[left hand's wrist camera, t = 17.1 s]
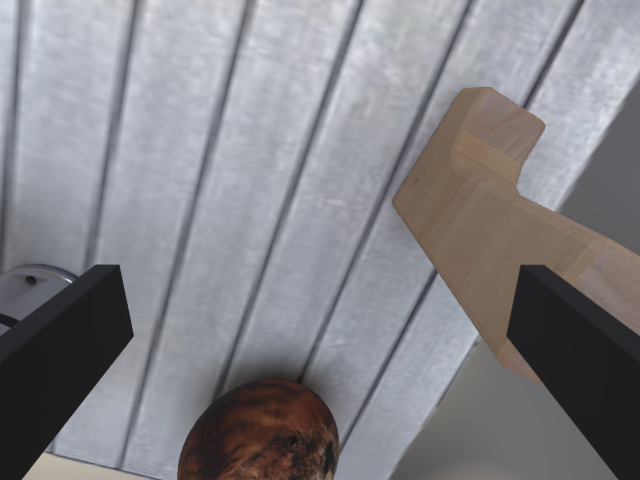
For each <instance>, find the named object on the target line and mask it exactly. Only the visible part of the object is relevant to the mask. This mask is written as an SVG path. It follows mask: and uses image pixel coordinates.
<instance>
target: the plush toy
mask: <svg viewBox="0 0 640 480" xmlns="http://www.w3.org/2000/svg"><path fill="white" fill-rule="evenodd" d="M338 459H339V435H338V430H337V426H336V423H335V420H334V418H333V415H332V413H331V412H330V410H329V408H328V407H327V405H326V404H325V403H324V401H323V400H322V399H321V398H320V397H319V396H318V395H317V394H316V393H314V392H313V391H312V390H310V389H309V388H307V387H305V386H303V385H301V384H298V383H295V382H292V381H288V380H281V379H265V380H258V381H254V382H250V383H247V384H244V385H242V386H239V387H237V388H235V389H233V390H231V391H229V392H228V393H226V394H225V395H223V396H222V397H220V398H219V399H218V400H216V401H215V402H214V403H213V404H212V405H211V406H210V407H208V408H207V409H206V411H205V412H204V413H203V414H202V415H201V416H200V417H199V419H198V420H197V421H196V423H195V424H194V426H193V428H192V429H191V431H190V433H189V434H188V436H187V438H186V441H185V443H184V446H183V449H182V452H181V455H180V459H179V464H178V473H177V480H333V479H334V476H335V473H336V469H337V465H338Z"/></svg>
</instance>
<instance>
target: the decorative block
mask: <svg viewBox="0 0 640 480" xmlns="http://www.w3.org/2000/svg"><path fill="white" fill-rule="evenodd" d="M545 126H546V125H545V124H544V122H543V121H542V120H541V119H539V118H538V117H536V116H534V115H533V114H531V113H530V112H528V111H527V110H525V109H524V108H522V107H520V106H519V105H517V104H516V103H514V102H513V101H511V100H510V99H508V98H506V97H505V96H503V95H502V94H500V93H499V92H497V91H496V90H494V89H493V88H491V87H479V88H465V89H463V90H462V91H461V92H460V93H459V95H458V97H457V98H456V100H455V101H454V103H453V104H452V106H451V108H450V109H449V111H448V112H447V114H446V116H445V117H444V119H443V120H442V122H441V124H440V125H439V127H438V128H437V130H436V132H435V133H434V135H433V136H432V138H431V139H430V141H429V143H428V144H427V146H426V147H425V149H424V151H423V152H422V154H421V155H420V157H419V159H418V160H417V162H416V163H415V165H414V167H413V168H412V170H411V171H410V173H409V175H408V176H407V178H406V179H405V181H404V183H403V184H402V186H401V187H400V189H399V191H398V192H397V194H396V195H395V197H394V199H393V201H392V205H393V206H394V208H395V209H396V211H397V212H398V214H399V215H400V217H401V218H402V220H403V221H404V223H405V224H406V226H407V227H408V229H409V230H410V232H411V233H412V235H413V236H414V238H415V239H416V240H417V242H418V243H419V245H420V246H421V248H422V249H423V251H424V252H425V254H426V255H427V257H428V258H429V260H430V261H431V263H432V264H433V266H434V267H435V268H436V270H437V271H438V273H439V274H440V276H441V277H442V279H443V280H444V282H445V283H446V285H447V286H448V288H449V289H450V291H451V292H452V294H453V295H454V297H455V298H456V300H457V301H458V302H459V304H460V305H461V307H462V308H463V310H464V311H465V313H466V314H467V316H468V317H469V319H470V320H471V322H472V323H473V325H474V326H475V328H476V329H477V331H478V332H479V333H480V335H481V336H482V338H483V339H484V341H485V342H486V344H487V345H488V347H489V348H490V350H491V351H492V353H493V354H494V356H495V357H496V359H497V360H498V361H499V362H500V364H501V365H502V366H504V367H506V368H508V369H510V370H512V371H514V372H516V373H518V374H520V375H522V376H524V377H526V378H528V379H530V380H532V381H534V382H536V383H538V384H540V385H542V386H544V387H546V386H545V385H544V384H543V383H542V381H541V380H540V379H539V378H538V376H537V375H536V374H535V372H534V371H533V370H532V369H531V367H530V366H529V365H528V363H527V362H526V361H525V360H524V358H523V357H522V356H521V354H520V353H519V352H518V351H517V349H516V348H515V347H514V346H513V344H512V343H511V342H510V340H509V339H508V338H507V337H506V334H507V329H508V324H509V319H510V314H511V309H512V304H513V299H514V295H515V290H516V285H517V280H518V275H519V270H520V265H545V266H547V267H548V268H549V269H551V270H552V271H553V272H555V273H556V274H557V275H559V276H560V277H561V278H563V279H564V280H565V281H567V282H568V283H569V284H571V285H572V286H573V287H575V288H576V289H577V290H579V291H580V292H581V293H583V294H584V295H586V296H587V297H588V298H590V299H591V300H592V301H594V302H595V303H596V304H598V305H599V306H600V307H602V308H603V309H604V310H606V311H607V312H608V313H610V314H611V315H612V316H614V317H615V318H616V319H618V320H619V321H620V322H622V323H623V324H625V325H626V326H627V327H629V328H630V329H631V330H633V331H634V332H635V333H637V334H638V335H639V336H640V257H639V256H638V255H636V254H635V253H633V252H631V251H630V250H628V249H626V248H624V247H623V246H621V245H619V244H618V243H616V242H614V241H613V240H611V239H609V238H607V237H605V236H603V235H601V234H599V233H597V232H595V231H593V230H590V229H588V228H586V227H584V226H582V225H580V224H578V223H576V222H574V221H572V220H570V219H568V218H566V217H564V216H562V215H560V214H558V213H556V212H553V211H551V210H549V209H547V208H545V207H543V206H541V205H539V204H537V203H535V202H533V201H531V200H529V199H527V198H525V197H523V196H521V195H520V194H519V192H518V190H517V188H516V185H517V182H518V178H519V175H520V172H521V169H522V166H523V164H524V162H525V161H526V159H527V157H528V156H529V154H530V153H531V151H532V149H533V148H534V146H535V144H536V143H537V141H538V140H539V138H540V136H541V135H542V133H543V131H544V130H545Z"/></svg>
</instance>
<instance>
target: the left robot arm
mask: <svg viewBox="0 0 640 480" xmlns="http://www.w3.org/2000/svg"><path fill="white" fill-rule="evenodd" d="M133 337H134V334H133V329H132V324H131V319H130V314H129V309H128V304H127V299H126V295H125V290H124V285H123V280H122V275H121V270H120V265H95V266H93V267H92V268H91V269H89V270H88V271H87V272H85V273H84V274H83V275H81V276H80V277H79V278H77V277H75V276H73V275H72V274H70V273H68V272H66V271H63V270H61V269H58V268H55V267H51V266H46V265H37V264H32V265H23V266H19V267H16V268H13V269H11V270H9V271H7V272H6V273H4V274H2V275H0V480H22V479H23V477H24V476H25V475H26V473H27V472H28V471H29V470H30V468H31V467H32V466H33V465H34V463H35V462H36V461H37V459H38V458H39V457H40V456H41V454H42V453H43V452H44V450H45V449H46V448H47V447H48V445H49V444H50V443H51V442H52V440H53V439H54V438H55V436H56V435H57V434H58V433H59V431H60V430H61V429H62V427H63V426H64V425H65V424H66V422H67V421H68V420H69V418H70V417H71V416H72V415H73V413H74V412H75V411H76V410H77V408H78V407H79V406H80V404H81V403H82V402H83V401H84V399H85V398H86V397H87V395H88V394H89V393H90V392H91V390H92V389H93V388H94V386H95V385H96V384H97V383H98V381H99V380H100V379H101V378H102V376H103V375H104V374H105V372H106V371H107V370H108V369H109V367H110V366H111V365H112V363H113V362H114V361H115V360H116V358H117V357H118V356H119V354H120V353H121V352H122V351H123V349H124V348H125V347H126V346H127V344H128V343H129V342H130V340H131V339H132V338H133ZM506 337H507V338H508V339H509V340H510V342H511V343H512V344H513V346H514V347H515V348H516V349H517V351H518V352H519V353H520V354H521V356H522V357H523V358H524V360H525V361H526V362H527V363H528V365H529V366H530V367H531V369H532V370H533V371H534V372H535V374H536V375H537V376H538V378H539V379H540V380H541V381H542V383H543V384H544V385H545V386H546V388H547V389H548V390H549V392H550V393H551V394H552V395H553V397H554V398H555V399H556V401H557V402H558V403H559V404H560V406H561V407H562V408H563V409H564V411H565V412H566V413H567V415H568V416H569V417H570V418H571V420H572V421H573V422H574V424H575V425H576V426H577V427H578V429H579V430H580V431H581V433H582V434H583V435H584V436H585V438H586V439H587V440H588V442H589V443H590V444H591V445H592V447H593V448H594V449H595V450H596V452H597V453H598V454H599V456H600V457H601V458H602V459H603V461H604V462H605V463H606V465H607V466H608V467H609V468H610V470H611V471H612V472H613V473H614V475H615V476H616V477H617V478H618V480H640V336H639V335H638V334H637V333H635V332H634V331H633V330H631V329H630V328H629V327H627V326H626V325H625V324H623V323H622V322H620V321H619V320H618V319H616V318H615V317H614V316H612V315H611V314H610V313H608V312H607V311H606V310H604V309H603V308H602V307H600V306H599V305H598V304H596V303H595V302H594V301H592V300H591V299H590V298H588V297H587V296H586V295H584V294H583V293H581V292H580V291H579V290H577V289H576V288H575V287H573V286H572V285H571V284H569V283H568V282H567V281H565V280H564V279H563V278H561V277H560V276H559V275H557V274H556V273H555V272H553V271H552V270H551V269H549V268H548V267H547V266H545V265H520V270H519V275H518V280H517V285H516V290H515V295H514V299H513V304H512V309H511V314H510V319H509V324H508V329H507V334H506Z"/></svg>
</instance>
